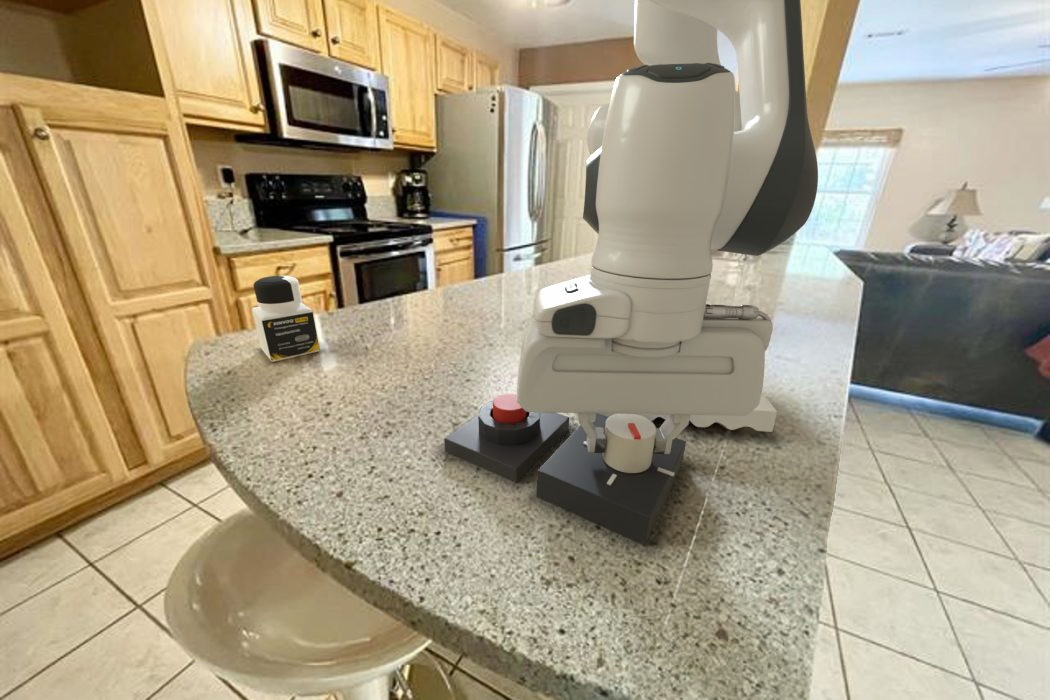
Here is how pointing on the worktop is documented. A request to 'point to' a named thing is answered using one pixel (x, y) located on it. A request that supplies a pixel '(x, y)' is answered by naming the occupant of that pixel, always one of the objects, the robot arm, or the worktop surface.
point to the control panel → (608, 486)
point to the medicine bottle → (283, 319)
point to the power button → (508, 409)
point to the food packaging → (732, 418)
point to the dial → (629, 442)
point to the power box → (506, 441)
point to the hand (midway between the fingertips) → (626, 449)
